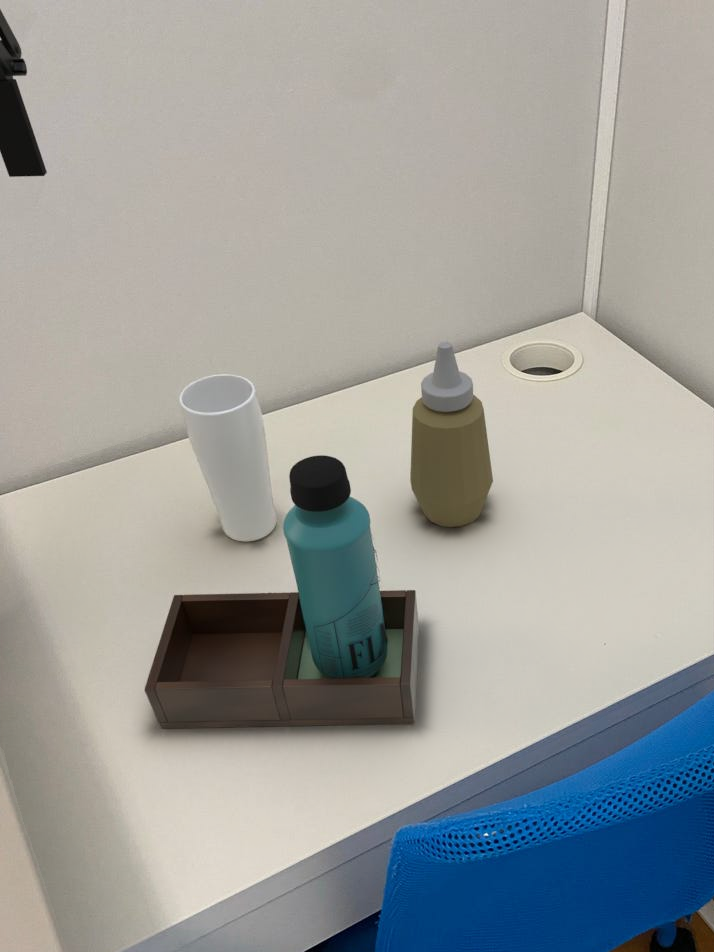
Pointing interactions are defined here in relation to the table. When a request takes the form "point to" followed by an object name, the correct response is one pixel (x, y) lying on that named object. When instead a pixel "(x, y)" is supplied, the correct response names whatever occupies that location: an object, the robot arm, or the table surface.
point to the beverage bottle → (335, 570)
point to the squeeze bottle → (449, 445)
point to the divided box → (273, 666)
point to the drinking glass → (231, 452)
